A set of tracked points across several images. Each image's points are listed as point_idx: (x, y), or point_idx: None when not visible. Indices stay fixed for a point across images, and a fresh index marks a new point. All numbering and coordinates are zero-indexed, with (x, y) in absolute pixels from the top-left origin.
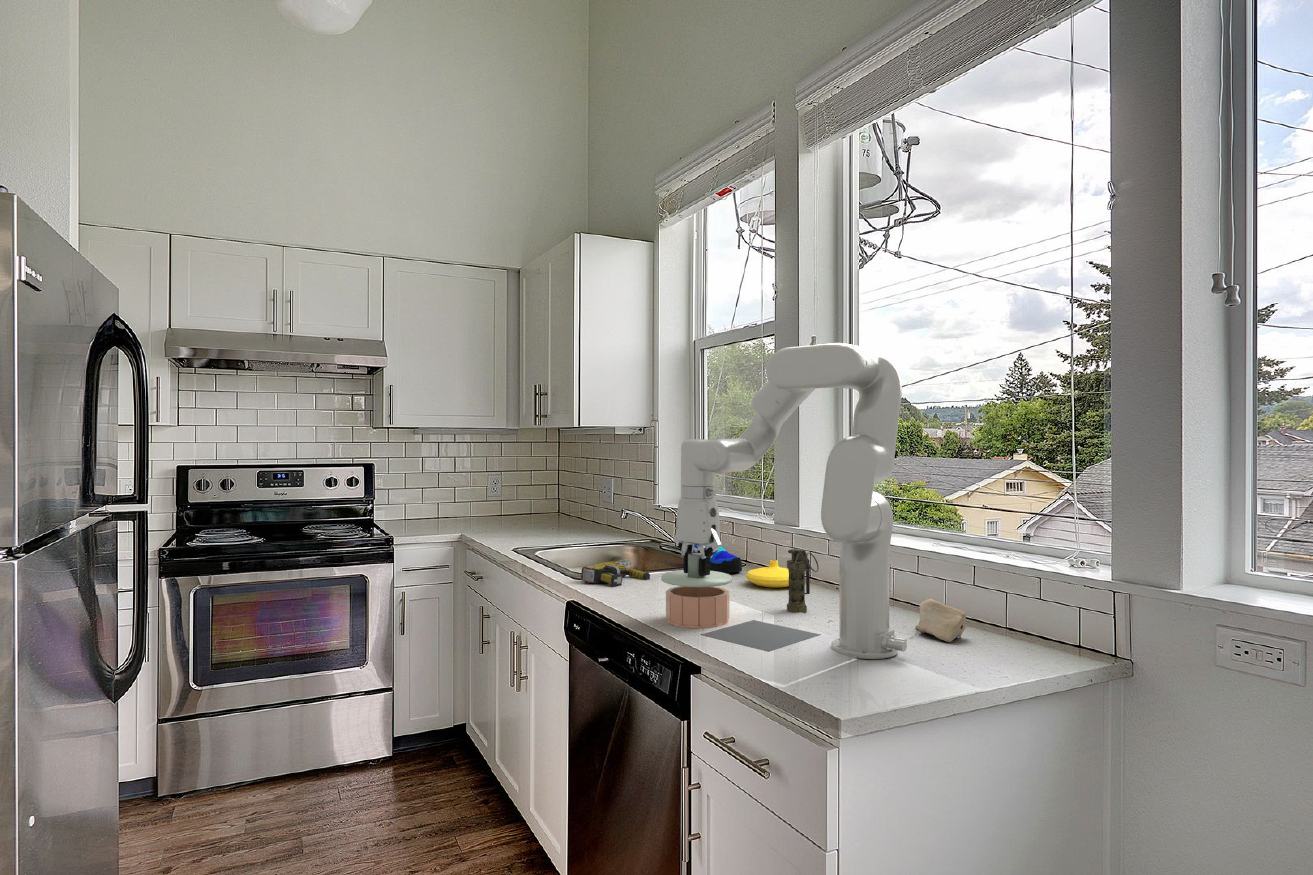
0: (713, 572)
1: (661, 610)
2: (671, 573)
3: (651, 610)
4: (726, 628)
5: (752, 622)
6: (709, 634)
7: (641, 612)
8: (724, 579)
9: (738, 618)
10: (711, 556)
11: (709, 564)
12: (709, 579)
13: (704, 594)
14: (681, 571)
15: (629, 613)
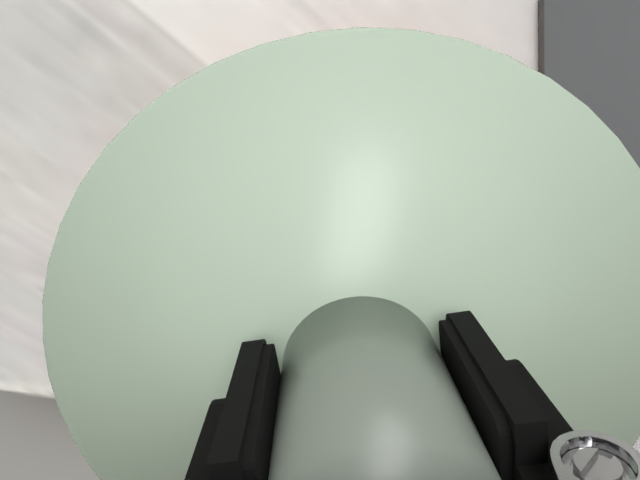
0: (295, 112)
1: (39, 231)
2: (136, 450)
3: (17, 270)
4: None
5: (576, 45)
6: None
7: (35, 328)
8: (627, 260)
9: (418, 6)
10: (624, 463)
11: (550, 408)
12: (532, 362)
13: None
14: (91, 338)
15: (29, 378)
